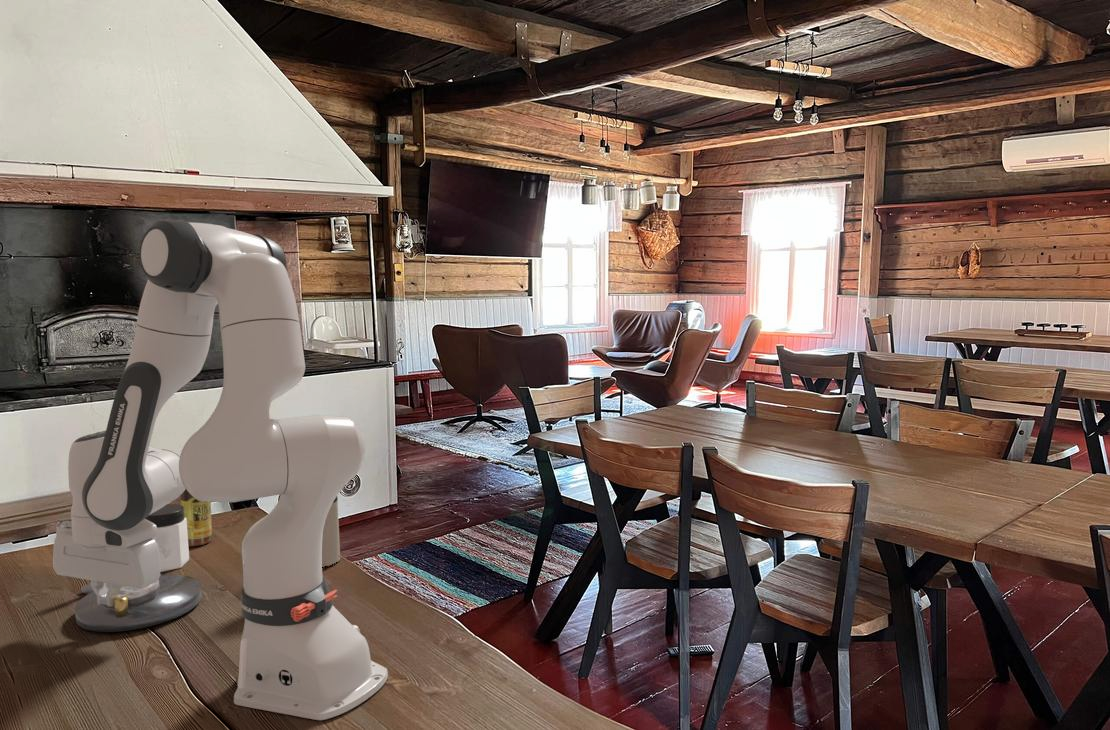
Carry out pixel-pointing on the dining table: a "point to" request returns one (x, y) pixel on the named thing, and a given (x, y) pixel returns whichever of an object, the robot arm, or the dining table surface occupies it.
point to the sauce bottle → (197, 519)
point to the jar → (171, 536)
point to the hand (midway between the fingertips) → (108, 604)
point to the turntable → (140, 607)
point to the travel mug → (331, 536)
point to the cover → (139, 594)
